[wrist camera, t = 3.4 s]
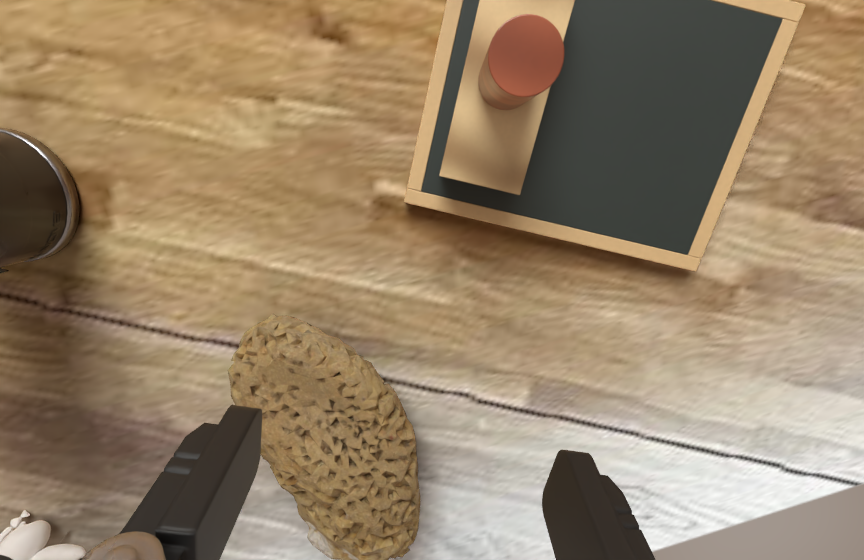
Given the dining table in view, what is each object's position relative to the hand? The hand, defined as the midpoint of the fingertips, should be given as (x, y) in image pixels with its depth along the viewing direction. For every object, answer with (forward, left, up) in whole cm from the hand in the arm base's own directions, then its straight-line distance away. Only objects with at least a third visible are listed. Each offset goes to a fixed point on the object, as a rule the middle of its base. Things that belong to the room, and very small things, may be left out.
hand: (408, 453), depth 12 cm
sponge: (+2, -15, -22) cm, 27 cm away
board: (+2, +14, -22) cm, 26 cm away
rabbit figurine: (-11, -42, -22) cm, 49 cm away
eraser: (-4, +12, -21) cm, 24 cm away
